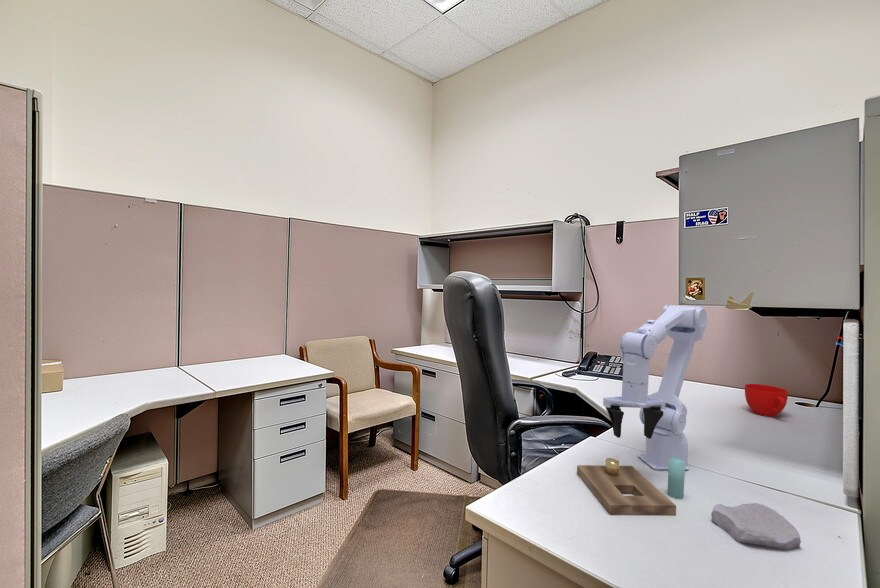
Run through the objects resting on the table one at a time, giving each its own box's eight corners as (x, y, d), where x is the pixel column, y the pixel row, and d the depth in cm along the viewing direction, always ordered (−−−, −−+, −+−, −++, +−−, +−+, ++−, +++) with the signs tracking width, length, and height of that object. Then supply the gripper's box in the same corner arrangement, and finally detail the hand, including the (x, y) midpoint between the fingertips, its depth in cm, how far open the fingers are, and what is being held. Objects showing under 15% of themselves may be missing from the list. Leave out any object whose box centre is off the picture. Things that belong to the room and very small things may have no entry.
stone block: (806, 559, 74) (761, 517, 84) (811, 537, 73) (766, 497, 83) (743, 561, 74) (706, 519, 84) (748, 539, 73) (710, 499, 82)
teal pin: (677, 491, 94) (679, 457, 94) (686, 498, 91) (688, 463, 90) (664, 491, 94) (665, 457, 93) (672, 498, 90) (674, 463, 90)
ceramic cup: (762, 421, 146) (763, 394, 146) (736, 407, 162) (737, 382, 162) (802, 424, 144) (804, 397, 143) (772, 410, 160) (774, 385, 160)
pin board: (631, 473, 102) (632, 454, 102) (675, 515, 84) (677, 491, 84) (576, 473, 101) (577, 453, 101) (609, 514, 83) (610, 490, 83)
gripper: (613, 384, 95) (610, 442, 95) (674, 386, 95) (671, 443, 95) (600, 377, 102) (598, 431, 102) (657, 379, 102) (654, 432, 102)
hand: (632, 436), depth 99 cm, fingers open, 7 cm apart
